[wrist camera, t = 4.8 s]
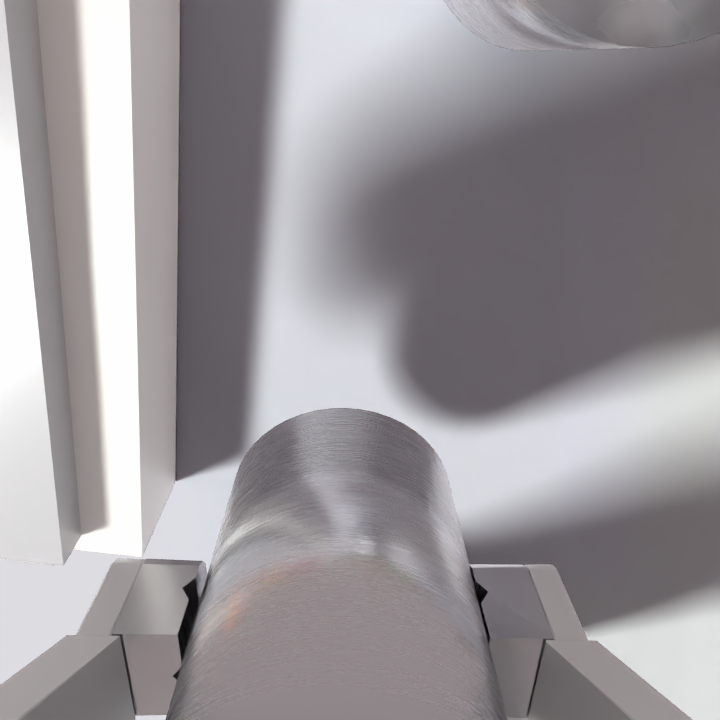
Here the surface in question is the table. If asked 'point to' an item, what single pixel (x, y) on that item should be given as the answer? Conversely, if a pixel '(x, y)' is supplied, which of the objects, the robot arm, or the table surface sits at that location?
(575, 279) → the table surface
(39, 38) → the white rimmed tray
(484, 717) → the cylinder
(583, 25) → the cylinder
